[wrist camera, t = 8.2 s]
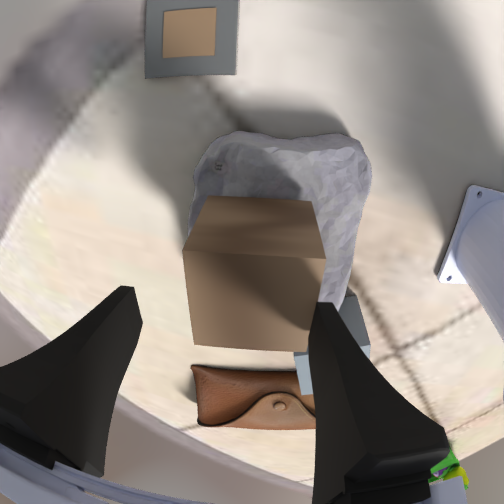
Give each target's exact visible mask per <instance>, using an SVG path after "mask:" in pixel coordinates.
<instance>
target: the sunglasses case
mask: <svg viewBox="0 0 504 504" xmlns="http://www.w3.org/2000/svg"><path fill="white" fill-rule="evenodd" d="M191 369H192V372H193V373H194V378H195V383H196V393H197V406H198V418H197V422H198V424H199V425H201V426H204V427H235V428H247V429H264V430H301V429H316V416H315V405H314V397H313V394H308V395H302V394H301V389H300V385H299V380H298V375H297V371H248V370H230V369H221V368H212V367H207V366H200V365H192V366H191Z"/></svg>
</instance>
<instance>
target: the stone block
mask: <svg viewBox="0 0 504 504" xmlns="http://www.w3.org/2000/svg"><path fill="white" fill-rule="evenodd" d="M193 179H194V183H195V192H194V197H193V200H192V203H191V206H190V212H189V218H188V237H189V235H190V233H191V230H192V228H193V226H194V224H195V222H196V220H197V218H198V216H199V213H200V211H201V209H202V207H203V205H204V203H205V201H206V199H207V197H208V195H212V196H236V197H256V198H273V199H289V200H303V201H312V205H313V208H314V212H315V216H316V220H317V223H318V227H319V231H320V235H321V239H322V243H323V247H324V251H325V255H326V264H325V269H324V274H323V279H322V284H321V289H320V293H319V298H318V302H332V303H333V304H334V305H335V307H336V309H337V311H339V309H340V306H341V304H342V302H343V300H344V297H345V293H346V289H347V284H348V281H349V277H350V273H351V268H352V263H353V256H354V248H355V241H356V236H357V231H358V225H359V223H360V220H361V216H362V210H363V207H364V204H365V202H366V200H367V197H368V195H369V193H370V187H371V181H372V171H371V164H370V162H369V159H368V158H367V156H366V154H365V152H364V149H363V147H362V145H361V144H360V142H359V141H358V140H356V139H353V138H351V137H348V136H345V135H343V134H324V135H317V136H312V137H296V138H294V139H279V138H274V137H271V136H269V135H266V134H262V133H249V132H245V131H235V132H233V133H231V134H228V135H225V136H221V137H219V138H217V139H216V140H215V141H213V142H212V143H211V144H210V145H209V147H208V149H207V150H206V151H205V153H204V154H203V155H202V157H201V159H200V161H199V163H198V165H197V166H196V167H195V171H194V176H193Z"/></svg>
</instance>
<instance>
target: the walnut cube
mask: <svg viewBox="0 0 504 504" xmlns="http://www.w3.org/2000/svg"><path fill="white" fill-rule="evenodd" d="M182 252H183V262H184V271H185V279H186V288H187V296H188V304H189V311H190V319H191V326H192V333H193V340H194V345H203V346H213V347H224V348H236V349H250V350H266V351H287V352H306V350H307V346H308V336H309V332H310V328H311V324H312V320H313V315H314V311H315V307H316V302H318V298H319V293H320V289H321V284H322V279H323V274H324V269H325V264H326V255H325V251H324V247H323V243H322V239H321V235H320V231H319V227H318V223H317V220H316V216H315V212H314V208H313V205H312V201H303V200H289V199H273V198H256V197H236V196H212V195H208V197H207V199H206V201H205V203H204V205H203V207H202V209H201V211H200V213H199V216H198V218H197V220H196V222H195V224H194V226H193V228H192V230H191V233H190V235H189V237H188V239H187V241H186V243H185V246H184V248H183V250H182Z"/></svg>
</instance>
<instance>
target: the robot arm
mask: <svg viewBox="0 0 504 504" xmlns="http://www.w3.org/2000/svg"><path fill="white" fill-rule="evenodd" d="M479 191H480V193H479V195H478V196H477V193H478V192H479ZM448 276H449V277H448ZM447 277H448V278H447ZM437 279H438V281H439V282H440V283H458V284H468V285H469V286H470V288H471V289H472V291H473V292H474V294H475V295H476V297H477V298H478V300H479V301H480V303H481V304H482V306H483V308H484V309H485V311H486V312H487V314H488V316H489V317H490V319H491V321H492V322H493V324H494V326H495V327H496V329H497V331H498V333H499V334H500V336H501V338H502V340H503V342H504V192H500V191H496V190H493V189H489V188H485V187H481V186H476V185H471V186H470V187H469V188H468V190H467V192H466V196H465V199H464V203H463V206H462V209H461V212H460V216H459V219H458V222H457V225H456V228H455V231H454V234H453V236H452V239H451V242H450V245H449V247H448V250H447V253H446V255H445V258H444V261H443V263H442V266H441V268H440V271H439V273H438V276H437ZM142 324H143V322H142V318H141V314H140V310H139V306H138V302H137V298H136V294H135V289H134V287H129V286H120V287H118V288H117V289H116V290H115V291H113V292H112V293H111V294H110V295H109V296H108V297H106V298H105V299H104V300H103V301H102V302H101V303H100V304H98V305H97V306H96V307H95V308H94V309H93V310H91V311H90V312H89V313H88V314H87V315H86V316H84V317H83V318H82V319H81V320H79V321H78V322H77V323H76V324H74V325H73V326H72V327H71V328H69V329H68V330H67V331H66V332H64V333H63V334H61V335H60V336H59V337H57V338H56V339H54V340H53V341H51V342H50V343H48V344H46V345H45V346H43V347H41V348H39V349H38V350H36V351H34V352H33V353H31V354H29V355H27V356H25V357H23V358H21V359H19V360H17V361H14V362H12V363H10V364H8V365H5V366H2V367H0V492H1V493H2V494H4V495H5V496H6V497H8V498H9V499H11V500H12V501H14V502H15V503H17V504H109V503H107V502H106V501H104V500H101V499H98V498H96V497H94V496H91V495H89V494H87V493H85V492H84V491H87V492H90V493H92V494H95V495H98V496H101V497H104V498H107V499H110V500H113V501H117V502H119V503H123V504H213V503H206V502H205V503H204V502H198V501H192V500H186V499H180V498H175V497H170V496H165V495H160V494H156V493H151V492H147V491H143V490H139V489H135V488H131V487H127V486H124V485H121V484H117V483H114V482H111V481H108V480H105V479H101V478H100V477H102V476H103V475H104V465H105V455H106V446H107V440H108V432H109V427H110V422H111V418H112V413H113V409H114V405H115V401H116V397H117V394H118V391H119V388H120V385H121V383H122V380H123V378H124V375H125V373H126V370H127V368H128V365H129V363H130V361H131V358H132V356H133V353H134V351H135V348H136V346H137V343H138V339H139V336H140V332H141V328H142ZM308 357H309V367H310V375H311V382H312V390H313V397H314V405H315V416H316V448H315V473H314V487H313V498H312V504H467V499H466V494H465V488H464V483H463V478H462V476H458V477H454V478H451V479H448V480H445V481H442V482H438V483H435V484H433V485H430V486H429V482H428V479H430V478H431V477H432V474H431V468H433V467H434V466H436V465H437V464H438V463H440V462H441V461H442V460H444V459H445V458H446V457H447V456H448V454H449V452H450V448H449V444H448V439H447V436H446V433H445V430H444V428H443V427H442V426H440V425H439V424H437V423H436V422H434V421H433V420H432V419H430V418H429V417H427V416H426V415H424V414H423V413H422V412H420V411H419V410H418V409H417V408H415V407H414V406H413V405H412V404H411V403H409V402H408V401H407V400H406V399H405V398H404V397H403V396H402V395H401V394H400V393H399V392H398V391H397V390H395V389H394V388H393V387H392V386H391V385H390V383H389V382H388V381H387V380H386V379H385V378H384V377H383V376H382V375H381V374H380V372H379V371H378V370H377V369H376V368H375V366H374V365H373V364H372V363H371V361H370V360H369V359H368V357H367V356H366V355H365V353H364V352H363V350H362V349H361V348H360V346H359V345H358V343H357V342H356V340H355V339H354V337H353V336H352V334H351V332H350V331H349V329H348V328H347V326H346V324H345V323H344V321H343V319H342V318H341V316H340V314H339V313H338V311H337V309H336V307H335V305H334V304H333V303H332V302H316V307H315V311H314V315H313V320H312V324H311V328H310V332H309V336H308ZM503 401H504V390H503Z"/></svg>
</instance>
